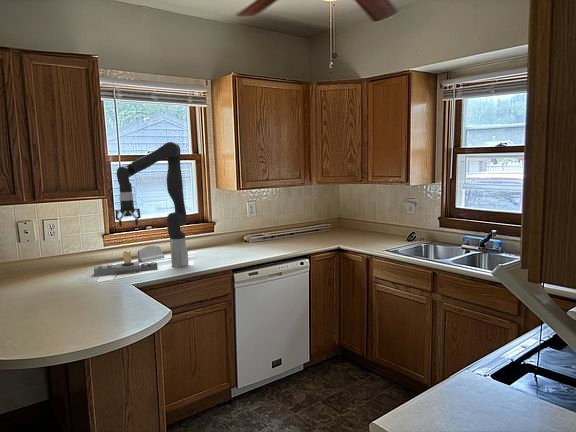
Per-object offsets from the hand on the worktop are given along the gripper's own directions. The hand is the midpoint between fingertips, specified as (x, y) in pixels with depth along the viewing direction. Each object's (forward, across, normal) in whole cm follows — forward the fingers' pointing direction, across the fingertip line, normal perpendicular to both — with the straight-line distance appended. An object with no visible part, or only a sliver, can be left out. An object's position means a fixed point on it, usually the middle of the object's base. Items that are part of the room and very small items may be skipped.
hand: (128, 226), depth 265 cm
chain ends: (+26, +3, +10) cm, 27 cm away
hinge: (+26, -12, -18) cm, 34 cm away
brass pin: (+26, +2, +9) cm, 27 cm away
